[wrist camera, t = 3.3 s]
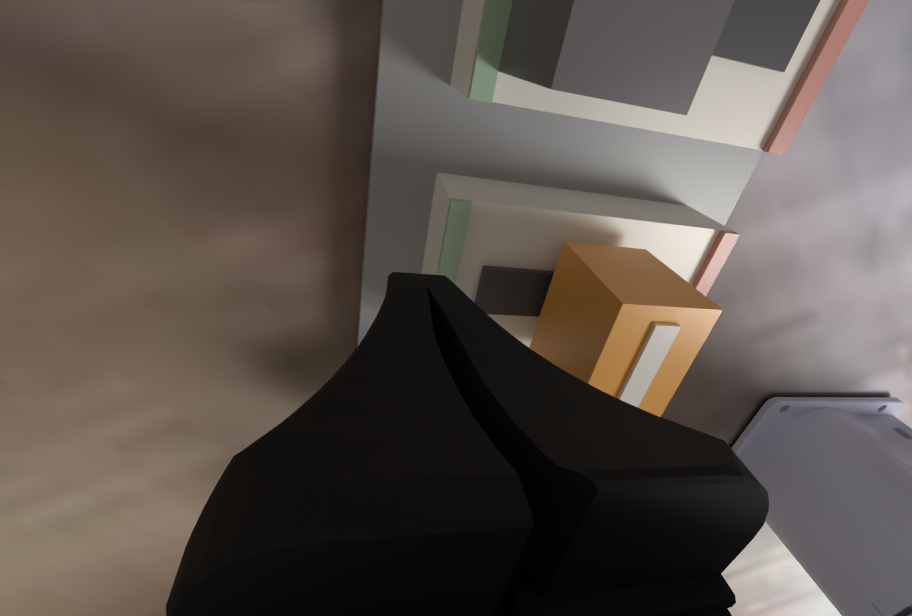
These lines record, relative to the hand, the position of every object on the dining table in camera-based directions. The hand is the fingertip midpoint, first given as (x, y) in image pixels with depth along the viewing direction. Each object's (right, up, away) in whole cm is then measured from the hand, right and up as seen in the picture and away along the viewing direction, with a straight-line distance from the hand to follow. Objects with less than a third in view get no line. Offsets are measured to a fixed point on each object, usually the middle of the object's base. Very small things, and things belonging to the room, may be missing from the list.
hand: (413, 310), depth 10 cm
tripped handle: (+5, 0, +2) cm, 5 cm away
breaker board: (+3, -1, +7) cm, 8 cm away
